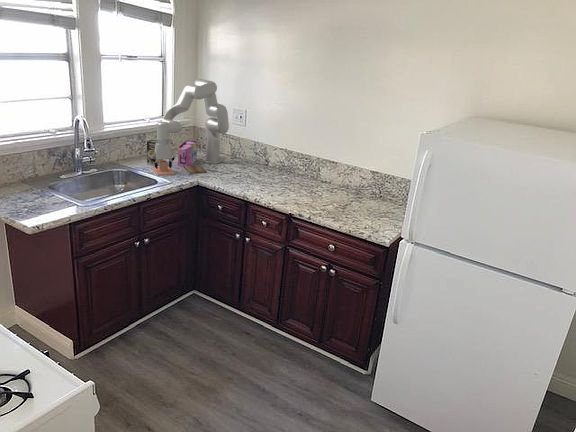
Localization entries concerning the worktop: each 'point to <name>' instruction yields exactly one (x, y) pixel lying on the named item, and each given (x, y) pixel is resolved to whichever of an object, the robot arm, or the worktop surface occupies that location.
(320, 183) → the worktop surface
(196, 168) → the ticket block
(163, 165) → the stub
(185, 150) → the gum box
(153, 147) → the coffee box
